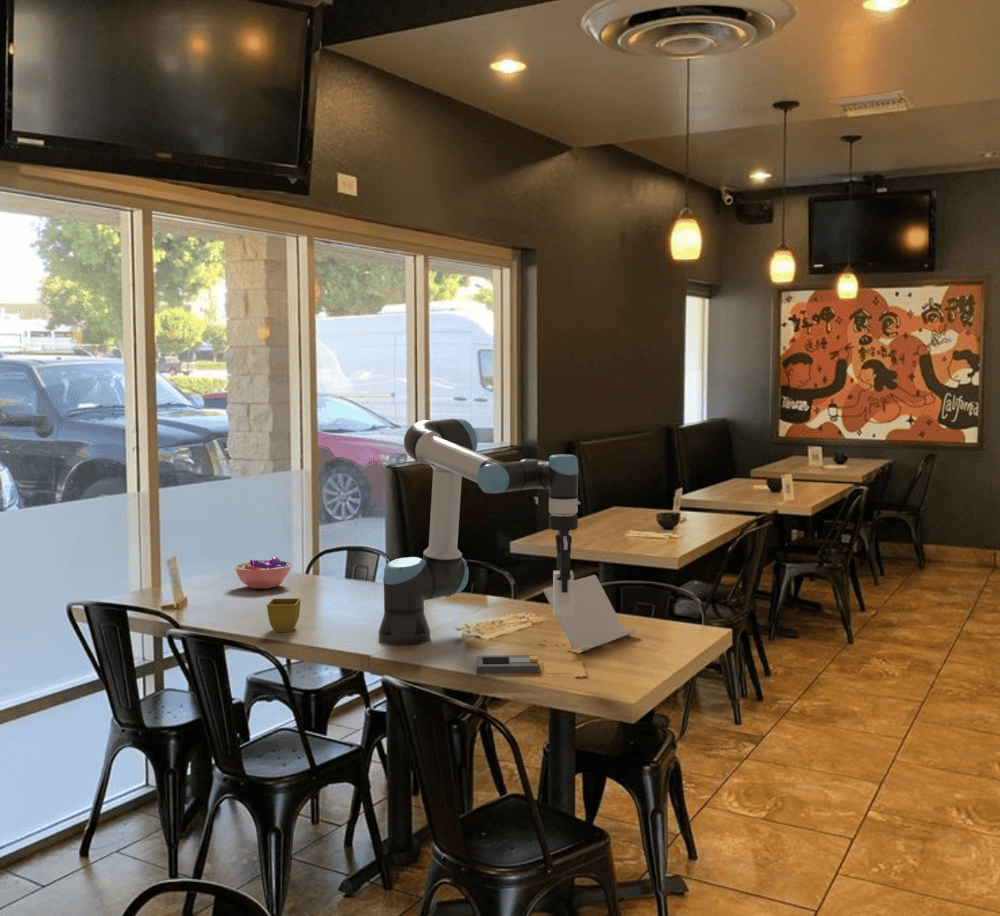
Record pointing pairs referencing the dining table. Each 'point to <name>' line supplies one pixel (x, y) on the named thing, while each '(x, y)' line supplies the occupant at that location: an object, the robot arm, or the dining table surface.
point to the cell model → (263, 573)
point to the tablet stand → (590, 616)
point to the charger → (562, 608)
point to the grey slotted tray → (507, 664)
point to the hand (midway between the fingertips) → (563, 601)
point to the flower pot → (283, 614)
